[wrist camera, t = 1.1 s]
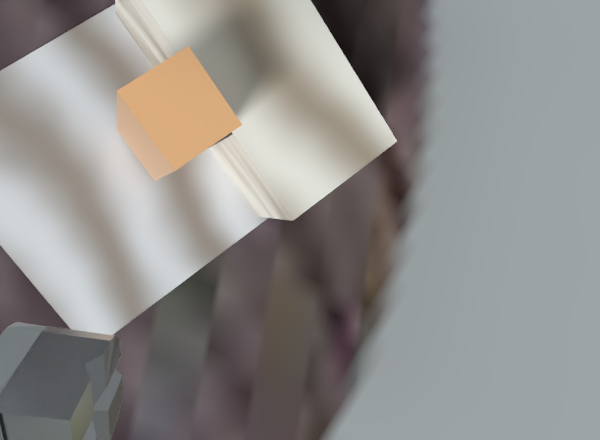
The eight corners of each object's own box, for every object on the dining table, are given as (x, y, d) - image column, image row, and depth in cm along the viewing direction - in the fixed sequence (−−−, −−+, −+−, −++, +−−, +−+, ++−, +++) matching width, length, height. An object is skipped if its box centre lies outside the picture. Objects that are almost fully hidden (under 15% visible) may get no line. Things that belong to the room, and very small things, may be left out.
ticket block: (90, 347, 36) (82, 393, 28) (-92, 130, 32) (-166, 105, 24) (347, 155, 41) (407, 143, 33) (216, -51, 38) (244, -124, 29)
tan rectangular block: (154, 181, 36) (175, 171, 23) (116, 129, 35) (116, 90, 23) (199, 150, 37) (242, 124, 24) (163, 99, 36) (188, 45, 23)
